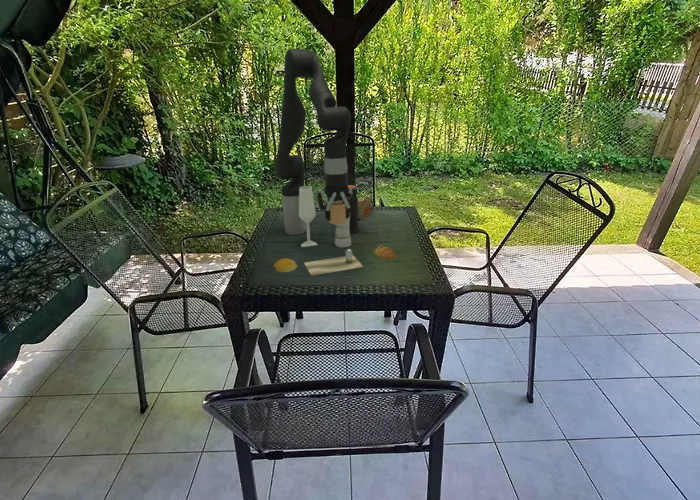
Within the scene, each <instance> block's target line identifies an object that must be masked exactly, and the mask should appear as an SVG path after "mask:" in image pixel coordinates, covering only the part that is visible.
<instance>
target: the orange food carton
mask: <svg viewBox="0 0 700 500" xmlns="http://www.w3.org/2000/svg"><path fill="white" fill-rule="evenodd" d="M373 210H374V200H373V198H371V197H364V198H362V199H360V200H358V220H363V219H365V218H367V217H368V216H370V215H371V214H372V213H373Z"/></svg>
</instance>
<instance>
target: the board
mask: <svg viewBox="0 0 700 500" xmlns="http://www.w3.org/2000/svg"><path fill="white" fill-rule="evenodd" d="M303 264H304V265H305V267H306V269H307V271H308V272H309V274H310V276H317V275H323V274H329V273H330V274H331V273H334V272H336V273H337V272H340V271H341V272H342V271H346V270H347V271H348V270H353V269H359V268H364V266H363V265H362V263H361V262H360V260H359V259H357V258H356V256H355V255H354V254H352V263H350V264H348V263H346V255H344V256H337V257H336V256H335V257H331V258H325V259H318V260H313V261H306V262H303Z"/></svg>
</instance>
